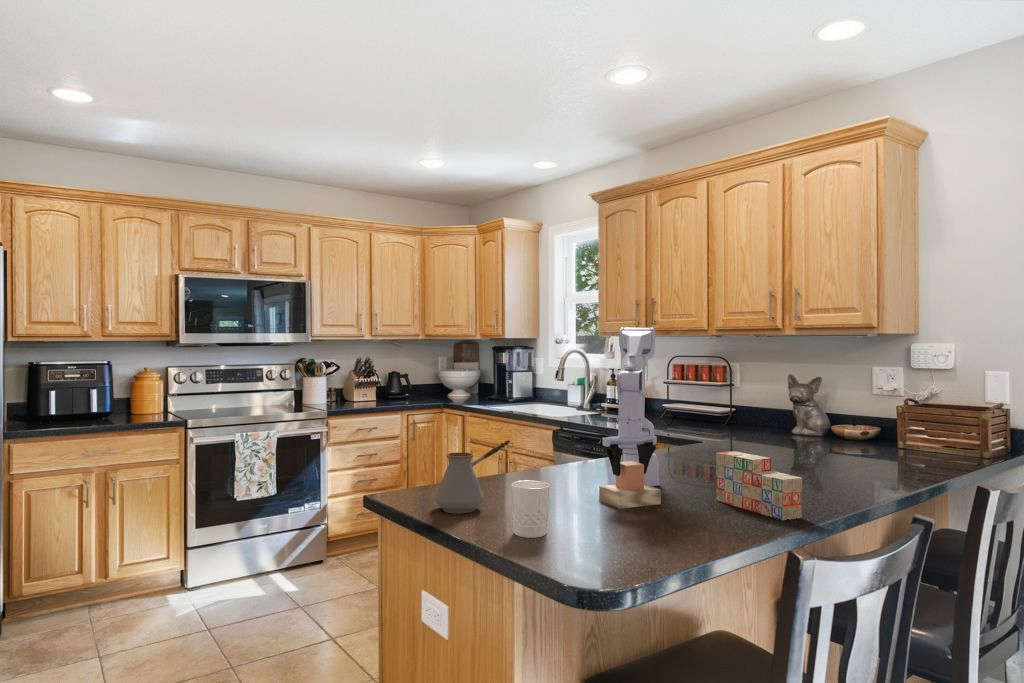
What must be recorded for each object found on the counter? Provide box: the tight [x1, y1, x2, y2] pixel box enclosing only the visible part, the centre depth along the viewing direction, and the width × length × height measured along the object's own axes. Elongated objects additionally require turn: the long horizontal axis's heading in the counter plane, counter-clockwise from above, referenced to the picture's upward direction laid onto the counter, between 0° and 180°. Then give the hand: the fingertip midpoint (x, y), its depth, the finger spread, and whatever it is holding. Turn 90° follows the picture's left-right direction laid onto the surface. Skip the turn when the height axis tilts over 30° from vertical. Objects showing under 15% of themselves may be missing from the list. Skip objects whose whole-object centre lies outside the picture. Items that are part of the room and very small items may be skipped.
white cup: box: [510, 479, 551, 539], centre depth 131 cm, size 8×8×10 cm
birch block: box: [598, 484, 662, 510], centre depth 158 cm, size 12×9×4 cm
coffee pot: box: [434, 439, 514, 514], centre depth 153 cm, size 21×12×15 cm, turn 130°
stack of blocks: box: [715, 450, 803, 521], centre depth 153 cm, size 21×6×12 cm, turn 24°
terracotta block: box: [615, 461, 644, 490], centre depth 159 cm, size 5×5×6 cm
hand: (629, 474), depth 159 cm, fingers open, 7 cm apart
